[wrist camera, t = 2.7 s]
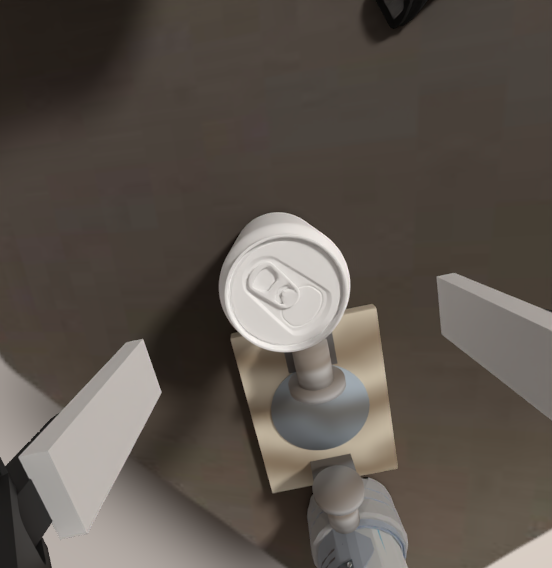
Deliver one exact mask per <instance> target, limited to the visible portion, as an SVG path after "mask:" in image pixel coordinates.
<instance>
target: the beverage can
mask: <svg viewBox="0 0 552 568" xmlns="http://www.w3.org/2000/svg"><path fill="white" fill-rule="evenodd" d="M349 295H350V276H349V271H348V267H347V264H346V262H345V259H344V257H343V255H342V254H341V252H340V250H339V249H338V248H337V246H336V245H335V244H334V243H333V242H332V241H331V240H330V239H329V238H328V237H326V236H325V235H324V234H322V233H321V232H320V231H318V230H317V229H315V228H314V227H313V226H311V225H310V224H308V223H307V222H306V221H304V220H303V219H301V218H299V217H297V216H295V215H292V214H288V213H282V212H275V213H268V214H264V215H262V216H259V217H257V218H255V219H254V220H252V221H251V222H250V223H248V224H247V225H246V226H245V227H244V228H243V230H242V231H241V232H240V234H239V236H238V237H237V239H236V241H235V243H234V244H233V246H232V248H231V250H230V252H229V253H228V255H227V257H226V259H225V261H224V263H223V266H222V269H221V273H220V278H219V296H220V301H221V305H222V308H223V311H224V313H225V315H226V317H227V319H228V320H229V322H230V323H231V324H232V326H233V327H234V328H235V329H236V330H237V331H238V332H239V333H240V334H241V335H242V336H243V337H244V338H245V339H247V340H248V341H249V342H251V343H252V344H254V345H256V346H258V347H260V348H263V349H266V350H269V351H274V352H295V351H300V350H304V349H307V348H309V347H312V346H314V345H316V344H318V343H319V342H321V341H322V340H324V339H325V338H326V337H327V336H328V335H329V334H330V333H331V332H332V331H333V330H334V329H335V328H336V326H337V325H338V323H339V322H340V320H341V318H342V316H343V314H344V311H345V309H346V306H347V303H348V300H349Z"/></svg>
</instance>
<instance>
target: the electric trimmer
mask: <svg viewBox="0 0 552 568" xmlns="http://www.w3.org/2000/svg"><path fill="white" fill-rule="evenodd" d="M427 1H428V0H376V2H377V4H378V6H379V8H380V10H381V11H382V13H383V15H384V17H385V19H386V21H387V23H388V24H389V26H390V27H391V28H393V29H394V28H396V27H397V26H399V25H400V26H403V25H405V24H406V23H407V22H409V21H410V20H412V19H413V18H414V17H415V16H416V15H417V14H418V13H419V11H420V10H421V9H422V7H423V6H424V5H425V3H426V2H427Z"/></svg>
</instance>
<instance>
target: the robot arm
mask: <svg viewBox="0 0 552 568" xmlns="http://www.w3.org/2000/svg"><path fill="white" fill-rule="evenodd" d="M437 286H438V298H439V310H440V321H441V333H442V335H443V336H445V337H446V338H447V339H448V340H450V341H451V342H452V343H454V344H455V345H456V346H457V347H459V348H460V349H461V350H462V351H464V352H465V353H466V354H468V355H469V356H470V357H471V358H473V359H474V360H475V361H477V362H478V363H479V364H480V365H482V366H483V367H484V368H485V369H487V370H488V371H489V372H491V373H492V374H493V375H494V376H496V377H497V378H498V379H500V380H501V381H502V382H503V383H505V384H506V385H507V386H509V387H510V388H511V389H512V390H514V391H515V392H516V393H517V394H519V395H520V396H521V397H523V398H524V399H525V400H526V401H528V402H529V403H530V404H532V405H533V406H534V407H535V408H537V409H538V410H539V411H540V412H542V413H543V414H544V415H546V416H547V417H548V418H549V419H551V420H552V310H548V309H543V308H539V307H537V306H534V305H532V304H529V303H527V302H524V301H522V300H519V299H517V298H515V297H512V296H510V295H507V294H505V293H502V292H500V291H497V290H495V289H492V288H490V287H488V286H485V285H483V284H480V283H478V282H475V281H473V280H470V279H468V278H465V277H463V276H460V275H458V274H456V273H451V274H447V275H442V276H437ZM161 393H162V392H161V389H160V386H159V384H158V381H157V378H156V375H155V372H154V369H153V366H152V363H151V360H150V358H149V355H148V352H147V349H146V346H145V343H144V340H143V339H140V340H135V341H131V342H126V343H125V344H124V345H123V346H122V347H121V349H120V350H119V351H118V352H117V353H116V354H115V355H114V356H113V357H112V358H111V359H110V360H109V361H108V362H107V363H106V364H105V366H104V367H103V368H102V369H101V370H100V371H99V372H98V373H97V374H96V375H95V376H94V377H93V378H92V379H91V380H90V381H89V382H88V384H87V385H86V386H85V387H84V388H83V389H82V390H81V391H80V392H79V393H78V394H77V395H76V396H75V397H74V398H73V399H72V401H71V402H70V403H69V404H68V405H67V406H66V407H65V408H64V409H63V410H62V411H61V412H60V413H58V414H57V415H56V416H54V417H53V418H51V419H50V420H49V421H48V422H47V423H46V424H45V425H44V426H43V428H42V429H41V430H40V432H38V433H37V434H36V435H35V436H34V437H33V438H32V439H31V442H28V443H27V444H26V445H25V446H24V447H23V448H22V449H21V450H20V452H19V453H18V454H17V455H16V456H15V457H14V458H13V459H12V460H11V461H10V462H9V463H8V464H7V465H6V466H4V464H3V462H2V460H1V458H0V568H52V567H51V562H50V557H49V552H48V548H47V545H46V544H45V542H44V540H43V538H42V536H43V535H44V533H45V532H46V530H47V529H48V527H49V526H50V524H51V523H52V524H53V527H54V528H55V530H56V532H57V534H58V536H59V538H60V539H65V538H70V537H75V536H80V535H85V534H88V532H89V530H90V528H91V526H92V524H93V522H94V520H95V519H96V517H97V515H98V513H99V511H100V509H101V507H102V505H103V503H104V501H105V500H106V498H107V495H108V494H109V492H110V490H111V488H112V486H113V484H114V482H115V480H116V479H117V477H118V475H119V473H120V471H121V469H122V467H123V465H124V463H125V461H126V459H127V458H128V456H129V454H130V452H131V450H132V448H133V446H134V444H135V442H136V440H137V438H138V437H139V435H140V433H141V431H142V429H143V427H144V425H145V423H146V421H147V419H148V417H149V416H150V414H151V412H152V410H153V408H154V406H155V404H156V402H157V400H158V398H159V396H160V395H161Z"/></svg>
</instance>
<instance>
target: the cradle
mask: <svg viewBox="0 0 552 568" xmlns="http://www.w3.org/2000/svg"><path fill="white" fill-rule="evenodd" d="M230 340H231V343H232V347H233V350H234V354H235V358H236V361H237V365H238V369H239V372H240V376H241V380H242V383H243V387H244V391H245V394H246V398H247V402H248V405H249V409H250V413H251V416H252V420H253V424H254V427H255V431H256V435H257V438H258V442H259V446H260V449H261V453H262V457H263V460H264V464H265V468H266V471H267V475H268V478H269V482H270V486H271V489H272V493H276V492H281V491H287V490H292V489H297V488H302V487H307V486H312V485H313V486H312V490H313V495H314V499H315V502H316V504H317V505H318V506H319V508H320V509H321V510H323V511H324V512H326V513H327V514H328V519H329V523H330V525H331V527H332V528H333V529H334V530H335V531H336V532H338V533H341V534H348V533H351V532H353V531H355V530H356V529H357V527H358V526H359V523H360V515H359V510H358V508H359V507H360V506H361V504H362V502H363V500H364V497H365V489H364V484H363V480H362V478H361V477H360V476H362V475H367V474H372V473H377V472H382V471H387V470H392V469H397V468H398V465H397V457H396V450H395V442H394V435H393V428H392V420H391V413H390V406H389V398H388V391H387V383H386V376H385V369H384V361H383V354H382V347H381V339H380V332H379V324H378V317H377V310H376V307H375V306H374V305H373V304H369V305H364V306H360V307H355V308H350V309H345V311H344V314H343V316H342V318H341V320H340V322H339V323H338V325H337V326H336V328H335V329H334V330H333V331H332V332H331V333H330V334H329V335H328V336H327V337H326V338H325V339H324V340H322V341H321V342H319V343H318V344H316V345H314V346H312V347H309V348H307V349H304V350H300V351H295V352H274V351H269V350H266V349H263V348H260V347H258V346H256V345H254V344H252V343H251V342H249V341H248V340H247V339H245V338H244V337H243V336H242V335H241V334H240V333H239V332H236V333H232V334H231V338H230Z"/></svg>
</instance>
